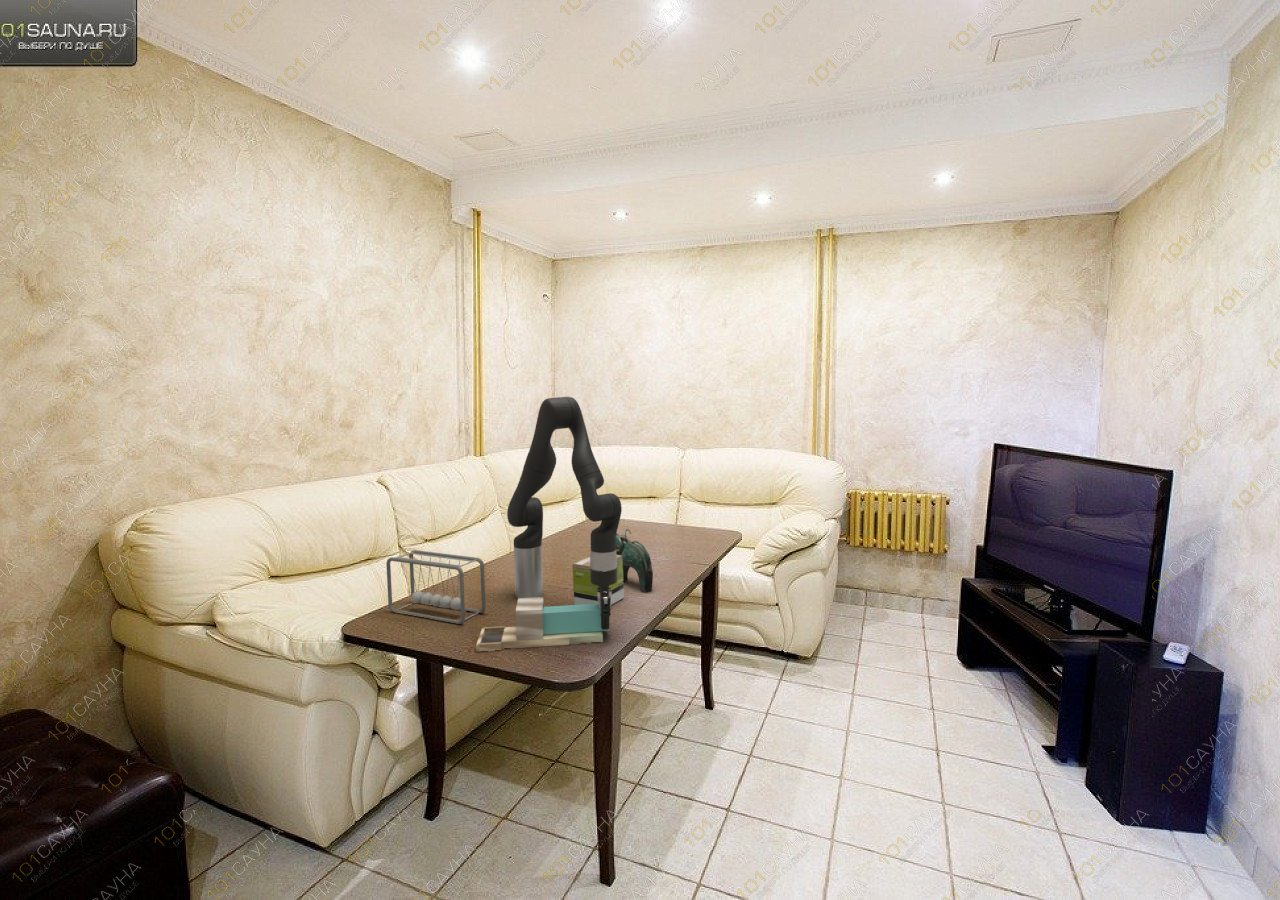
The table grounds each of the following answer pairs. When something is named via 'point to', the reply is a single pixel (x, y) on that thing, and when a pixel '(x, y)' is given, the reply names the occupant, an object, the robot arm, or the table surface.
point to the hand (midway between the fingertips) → (604, 624)
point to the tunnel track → (529, 631)
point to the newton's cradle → (436, 598)
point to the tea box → (588, 591)
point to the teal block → (572, 619)
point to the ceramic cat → (635, 560)
